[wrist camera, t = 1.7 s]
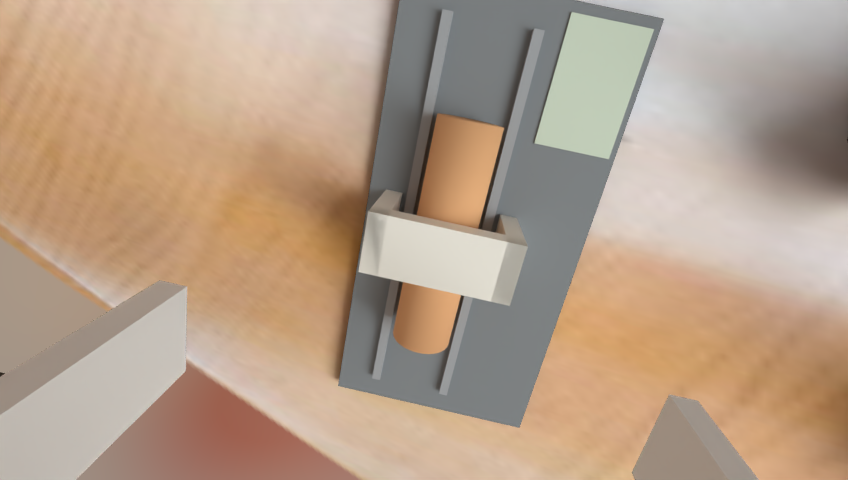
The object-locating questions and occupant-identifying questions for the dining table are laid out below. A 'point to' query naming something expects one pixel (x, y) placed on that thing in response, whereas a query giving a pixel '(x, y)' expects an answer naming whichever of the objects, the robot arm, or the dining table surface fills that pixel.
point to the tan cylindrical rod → (451, 202)
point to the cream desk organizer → (442, 252)
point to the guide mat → (498, 180)
